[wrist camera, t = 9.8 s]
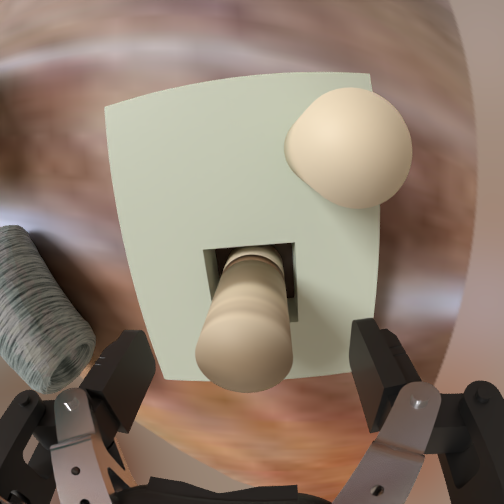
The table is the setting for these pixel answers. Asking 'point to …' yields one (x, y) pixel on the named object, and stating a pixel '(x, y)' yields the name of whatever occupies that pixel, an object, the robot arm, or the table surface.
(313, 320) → the seat board
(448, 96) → the table surface
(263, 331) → the peg
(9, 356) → the spool
